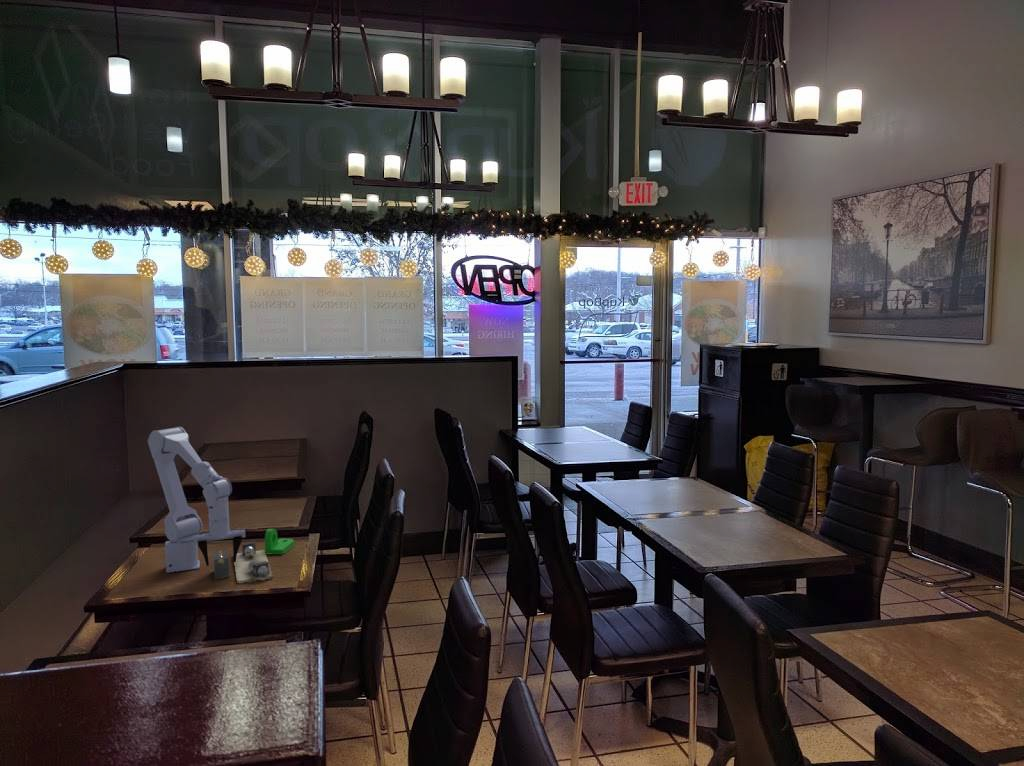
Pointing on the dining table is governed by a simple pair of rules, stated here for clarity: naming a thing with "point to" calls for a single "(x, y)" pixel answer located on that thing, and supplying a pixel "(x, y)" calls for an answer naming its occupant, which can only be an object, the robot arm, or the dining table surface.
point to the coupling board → (243, 571)
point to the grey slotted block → (221, 564)
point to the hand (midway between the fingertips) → (221, 562)
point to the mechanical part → (276, 543)
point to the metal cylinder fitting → (248, 549)
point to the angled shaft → (259, 568)
